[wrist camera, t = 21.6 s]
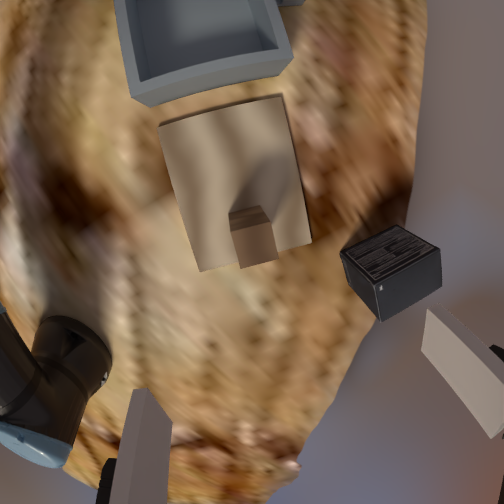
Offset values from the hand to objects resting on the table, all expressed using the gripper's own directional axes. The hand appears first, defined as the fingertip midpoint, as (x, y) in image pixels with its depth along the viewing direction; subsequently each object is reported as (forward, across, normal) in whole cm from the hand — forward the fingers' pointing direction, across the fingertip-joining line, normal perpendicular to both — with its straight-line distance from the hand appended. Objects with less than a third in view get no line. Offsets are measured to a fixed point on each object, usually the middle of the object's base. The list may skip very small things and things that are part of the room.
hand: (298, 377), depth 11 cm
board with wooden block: (+27, 0, +5) cm, 28 cm away
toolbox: (+27, +3, +27) cm, 38 cm away
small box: (+27, +17, -10) cm, 33 cm away
